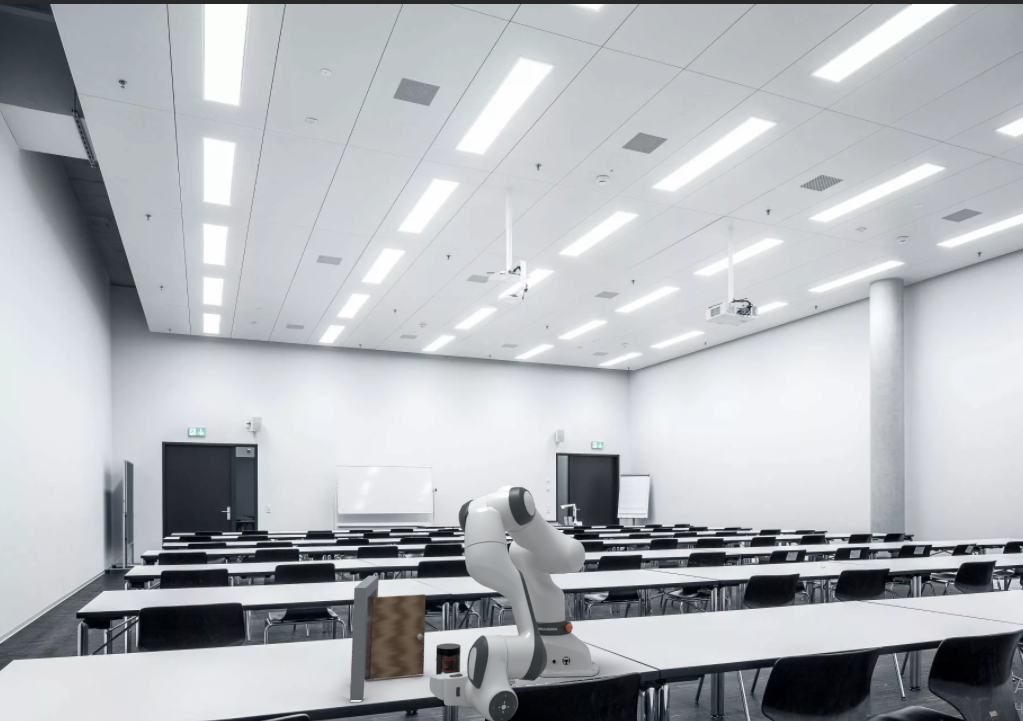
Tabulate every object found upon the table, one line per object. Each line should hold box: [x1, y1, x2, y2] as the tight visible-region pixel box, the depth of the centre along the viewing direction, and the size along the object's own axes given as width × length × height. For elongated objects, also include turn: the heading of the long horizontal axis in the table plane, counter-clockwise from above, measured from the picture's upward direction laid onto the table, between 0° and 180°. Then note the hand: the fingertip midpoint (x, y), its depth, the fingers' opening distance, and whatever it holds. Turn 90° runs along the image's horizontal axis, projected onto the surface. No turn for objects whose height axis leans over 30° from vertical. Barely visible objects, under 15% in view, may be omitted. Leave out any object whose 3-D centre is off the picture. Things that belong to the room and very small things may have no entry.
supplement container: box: [435, 642, 462, 675], centre depth 189 cm, size 7×7×10 cm
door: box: [364, 594, 426, 681], centre depth 197 cm, size 17×3×22 cm, turn 111°
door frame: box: [349, 575, 380, 702], centre depth 188 cm, size 24×3×28 cm, turn 3°
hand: (460, 673), depth 179 cm, fingers open, 8 cm apart
